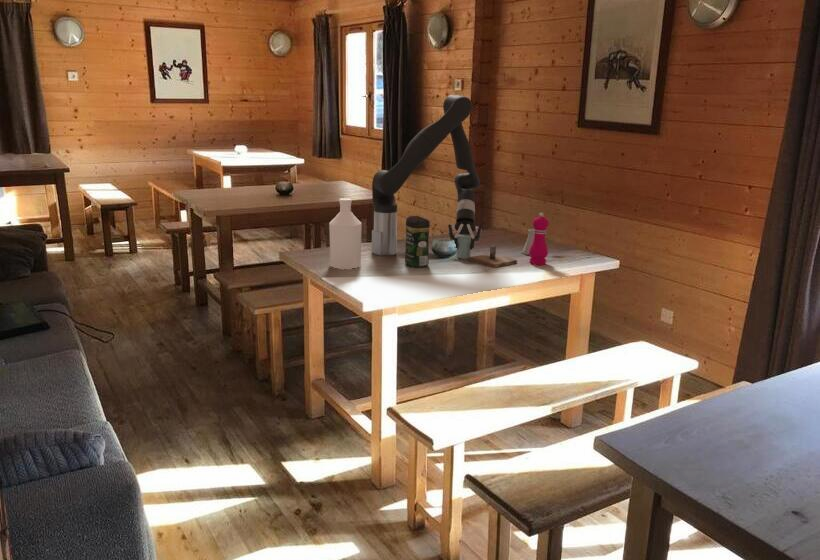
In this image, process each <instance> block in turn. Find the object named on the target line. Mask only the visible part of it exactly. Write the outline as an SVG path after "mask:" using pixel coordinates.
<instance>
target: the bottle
mask: <svg viewBox="0 0 820 560" xmlns="http://www.w3.org/2000/svg"><path fill="white" fill-rule="evenodd" d="M338 200H339V201H338V202H339V210H340V211H339V212H338V213H337V214H336V216H335V217H334V218H333V219H331V221H329V223H328V224H329V225H328V227H329V229H328V230H329V263H330V264H329V265H330V267H331V266H332V267H335V268H339V269H338V270H344V269H347V270H353V269H352V268H356V269H358V268H357V267H359V268H361V265H362V263H361V262H362V227H363V226H362V223H363V222H361V221H360V220H359V219H358V218H357V216H355V215H354V213H353V211H352V207H351V206H352V202H353V201H352V200H353V199H352V198H346V197H345V198H344V197H343V198H342V197H340V198H339V199H338ZM332 267H331V268H332ZM335 268H334V269H335Z"/></svg>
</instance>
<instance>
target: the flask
mask: <svg viewBox="0 0 820 560" xmlns="http://www.w3.org/2000/svg"><path fill="white" fill-rule="evenodd" d="M527 232H528V235H527V239H526V242H525V244H524V246H523V249H522V251H521V254H523V255H526V256H530V254H529V250H530V247H531V245H532V243H533V240H534V229H532V228H531V229H528V230H527Z"/></svg>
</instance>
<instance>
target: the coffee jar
mask: <svg viewBox="0 0 820 560" xmlns="http://www.w3.org/2000/svg"><path fill="white" fill-rule="evenodd" d="M430 224H431V223H430V220H429V219H428V218H424V217H421V216H420V215H409V216H408V217H407V218H406V221H405V254H404V262H405V264H407V266H409V267H413V268H424V267H427V266H429V263H430V262H429V258H430V257H429V251H430V250H429V246H430V245H429V242H430V241H429V239H430V238H429V237H430V236H429V234H430V229H431V225H430Z"/></svg>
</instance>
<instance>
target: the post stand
mask: <svg viewBox="0 0 820 560" xmlns="http://www.w3.org/2000/svg"><path fill="white" fill-rule="evenodd" d="M489 247H490V249H489V253H486V254H480V255H475V256H470V257H468V259H467V261H468V260H469V262H472V263H475V262H476V264H479V263H480V264H479V265H483V266H486V265H487V267H490V266H491V267H490V268H493V267H495V268H499V266H500V267H503V266H504V265H505V266H508V265H509V264H510V265H514V263H515V264H517V263H518V259H514V258H510V257H506V256H503V255H499V254H496V250H497V246H496V245H489Z"/></svg>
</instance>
